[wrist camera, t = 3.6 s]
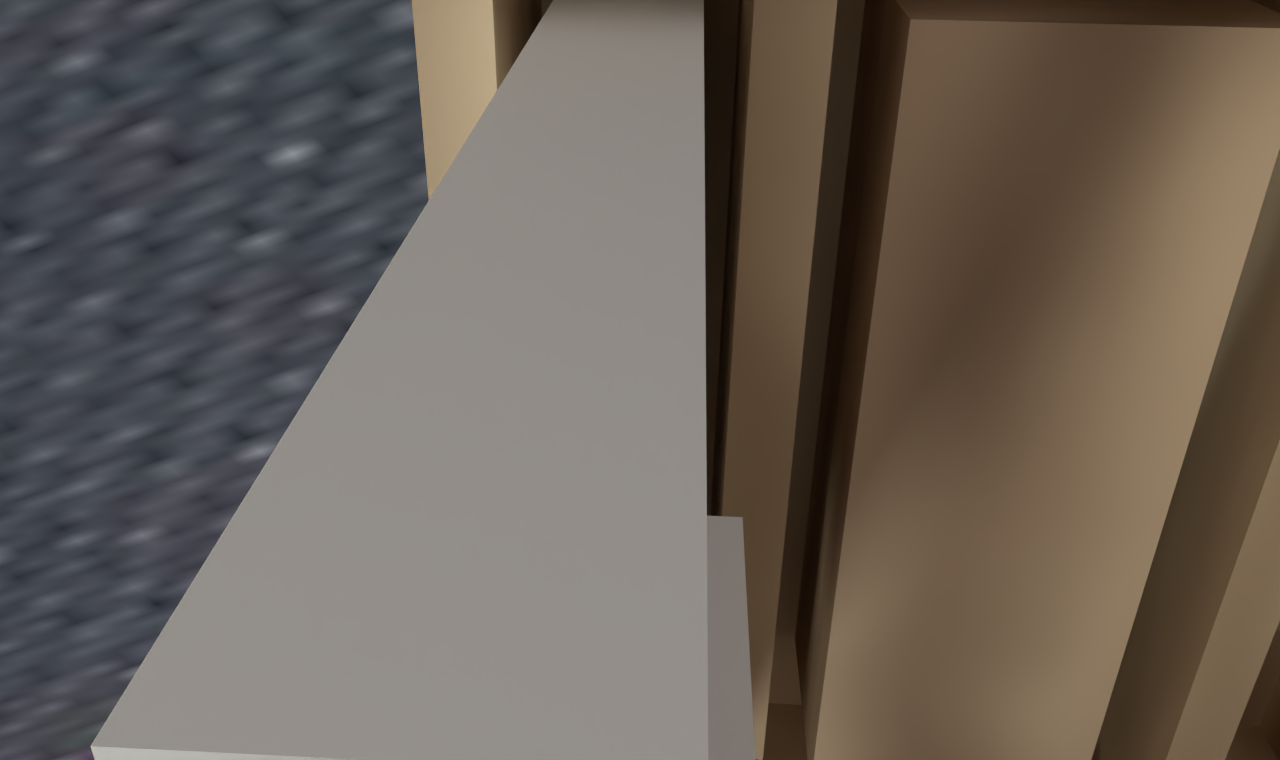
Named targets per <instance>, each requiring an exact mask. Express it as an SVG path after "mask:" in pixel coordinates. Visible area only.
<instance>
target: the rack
mask: <svg viewBox="0 0 1280 760" xmlns="http://www.w3.org/2000/svg"><path fill="white" fill-rule="evenodd" d="M552 1H553V0H412V8H413V20H414V32H415V43H416V55H417V67H418V79H419V91H420V102H421V114H422V126H423V138H424V150H425V161H426V173H427V185H428V197H429V200H430V198H431V196H432V195H433V193H434V192H435V190H436V188H437V187H438V185H439V183H440V182H441V180H442V179H443V177H444V175H445V174H446V172H447V171H448V169H449V167H450V166H451V164H452V162H453V161H454V159H455V158H456V156H457V154H458V153H459V151H460V150H461V148H462V146H463V145H464V143H465V142H466V140H467V138H468V137H469V135H470V133H471V132H472V130H473V129H474V127H475V125H476V124H477V122H478V121H479V119H480V117H481V116H482V114H483V113H484V111H485V109H486V108H487V106H488V104H489V103H490V101H491V100H492V98H493V96H494V95H495V93H496V92H497V90H498V88H499V87H500V85H501V83H502V82H503V80H504V79H505V77H506V75H507V74H508V72H509V71H510V69H511V67H512V66H513V64H514V63H515V61H516V59H517V58H518V56H519V54H520V53H521V51H522V50H523V48H524V46H525V45H526V43H527V42H528V40H529V38H530V37H531V35H532V33H533V32H534V30H535V29H536V27H537V25H538V24H539V22H540V21H541V19H542V17H543V16H544V14H545V13H546V11H547V9H548V8H549V6H550V4H551V3H552ZM1251 1H1253V2H1255V3H1258V4H1260V5H1262V6H1265V7H1267V8H1269V9H1271V10H1274V11H1276V12H1278V13H1280V0H1251ZM864 6H865V0H704V130H705V295H706V459H707V516H728V517H743V536H744V555H745V574H746V593H747V612H748V631H749V650H750V669H751V688H752V707H753V726H754V745H755V759H756V760H808V759H807V750H806V740H805V731H804V721H803V712H802V702H801V693H800V683H799V674H798V664H797V655H796V645H795V632H796V623H797V614H798V605H799V596H800V587H801V577H802V568H803V559H804V550H805V541H806V532H807V523H808V514H809V505H810V496H811V487H812V478H813V469H814V460H815V450H816V441H817V432H818V423H819V414H820V405H821V396H822V387H823V378H824V369H825V360H826V351H827V342H828V333H829V324H830V314H831V305H832V296H833V287H834V278H835V269H836V260H837V251H838V242H839V233H840V224H841V215H842V206H843V197H844V187H845V178H846V169H847V160H848V151H849V142H850V133H851V124H852V115H853V106H854V97H855V88H856V79H857V70H858V61H859V51H860V42H861V33H862V24H863V15H864ZM1091 760H1280V149H1279V152H1278V155H1277V159H1276V162H1275V165H1274V168H1273V171H1272V175H1271V178H1270V181H1269V184H1268V188H1267V191H1266V194H1265V197H1264V201H1263V204H1262V207H1261V210H1260V214H1259V217H1258V220H1257V223H1256V227H1255V230H1254V233H1253V236H1252V240H1251V243H1250V246H1249V249H1248V253H1247V256H1246V259H1245V262H1244V266H1243V269H1242V272H1241V275H1240V279H1239V282H1238V285H1237V288H1236V292H1235V295H1234V298H1233V301H1232V305H1231V308H1230V311H1229V314H1228V318H1227V321H1226V324H1225V327H1224V331H1223V334H1222V337H1221V340H1220V343H1219V347H1218V350H1217V353H1216V356H1215V360H1214V363H1213V366H1212V369H1211V373H1210V376H1209V379H1208V382H1207V386H1206V389H1205V392H1204V395H1203V399H1202V402H1201V405H1200V408H1199V412H1198V415H1197V418H1196V421H1195V425H1194V428H1193V431H1192V434H1191V438H1190V441H1189V444H1188V447H1187V451H1186V454H1185V457H1184V460H1183V464H1182V467H1181V470H1180V473H1179V477H1178V480H1177V483H1176V486H1175V490H1174V493H1173V496H1172V499H1171V503H1170V506H1169V509H1168V512H1167V515H1166V519H1165V522H1164V525H1163V528H1162V532H1161V535H1160V538H1159V541H1158V545H1157V548H1156V551H1155V554H1154V558H1153V561H1152V564H1151V567H1150V571H1149V574H1148V577H1147V580H1146V584H1145V587H1144V590H1143V593H1142V597H1141V600H1140V603H1139V606H1138V610H1137V613H1136V616H1135V619H1134V623H1133V626H1132V629H1131V632H1130V636H1129V639H1128V642H1127V645H1126V649H1125V652H1124V655H1123V658H1122V662H1121V665H1120V668H1119V671H1118V674H1117V678H1116V681H1115V684H1114V687H1113V691H1112V694H1111V697H1110V700H1109V704H1108V707H1107V710H1106V713H1105V717H1104V720H1103V723H1102V726H1101V730H1100V733H1099V736H1098V739H1097V743H1096V746H1095V749H1094V752H1093V756H1092V759H1091Z"/></svg>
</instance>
